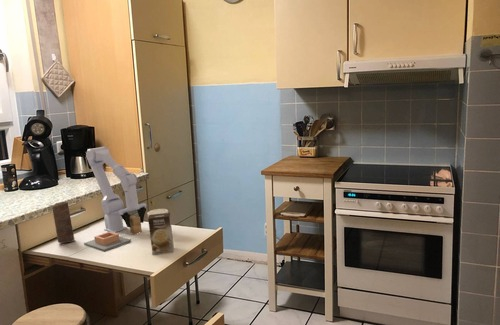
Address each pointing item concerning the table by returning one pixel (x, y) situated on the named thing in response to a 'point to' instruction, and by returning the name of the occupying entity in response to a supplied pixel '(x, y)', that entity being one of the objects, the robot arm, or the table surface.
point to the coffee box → (161, 233)
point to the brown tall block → (63, 222)
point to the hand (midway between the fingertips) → (135, 224)
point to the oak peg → (135, 225)
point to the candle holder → (157, 211)
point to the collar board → (107, 241)
